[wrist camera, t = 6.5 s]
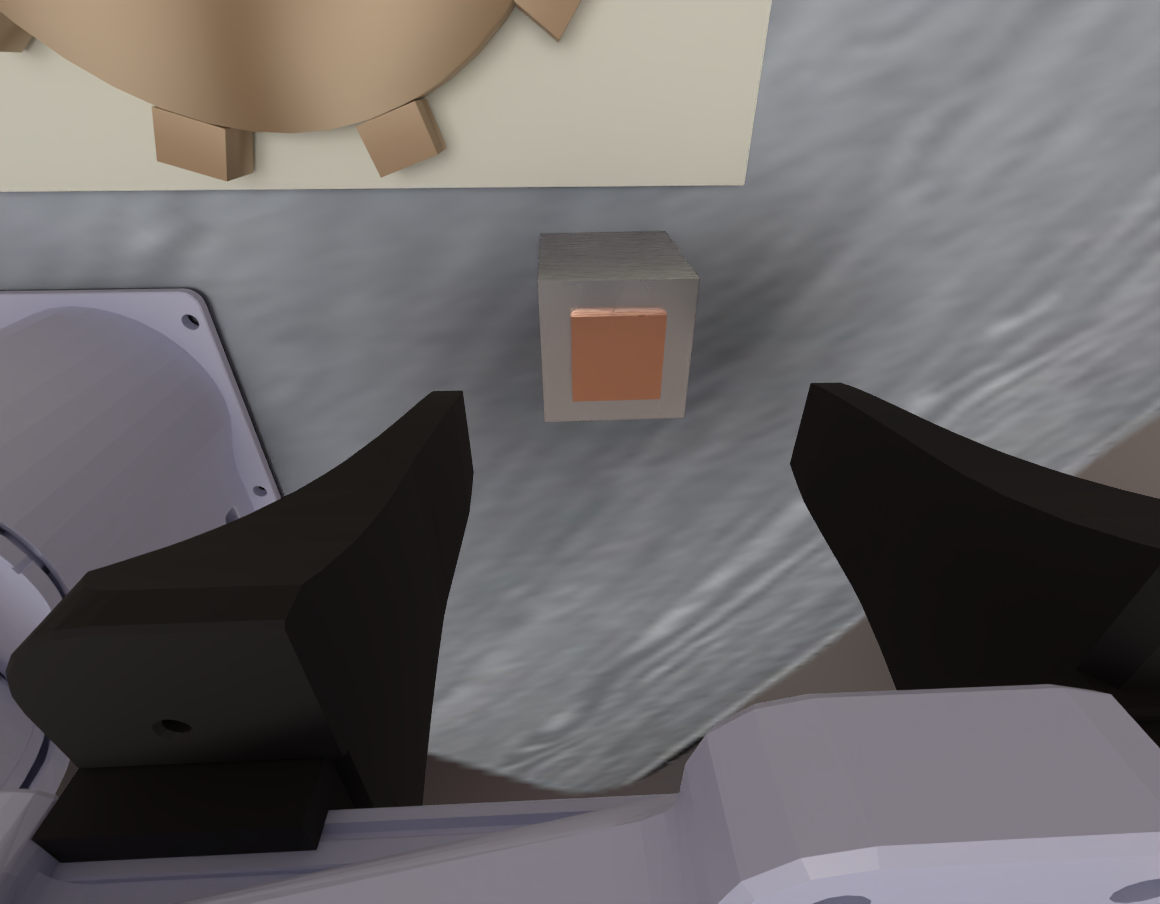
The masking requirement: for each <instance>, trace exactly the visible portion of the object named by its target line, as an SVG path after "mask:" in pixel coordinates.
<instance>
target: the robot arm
mask: <svg viewBox="0 0 1160 904" xmlns="http://www.w3.org/2000/svg"><path fill="white" fill-rule="evenodd" d="M188 315H192V316H194V317H195V318H196V319H197V320H198V322H199V325H195V324H194V323H192V322H191V321H190V320H189V318H188ZM790 465H791V468H792V471H793V474H794V477H795V480H796V483H797V485H798V488H799V490H800V493H801V495H802V498H803V500H804V503H805V504H806V506H807V508H808V510H809V512H810V514H811V515H812V517H813V519H814V521H815V523H816V524H817V526H818V528H819V530H820V531H821V533H822V535H823V537H824V538H825V540H826V542H827V544H828V545H829V547H830V549H831V550H832V552H833V554H834V556H835V557H836V559H837V561H838V563H839V564H840V566H841V568H842V569H843V571H844V573H845V575H846V576H847V578H848V580H849V582H850V583H851V585H852V587H853V589H854V591H855V593H856V595H857V597H858V599H859V601H860V602H861V604H862V607H863V609H864V611H865V614H866V616H867V618H868V621H869V623H870V625H871V628H872V630H873V632H874V634H875V637H876V639H877V641H878V644H879V646H880V649H881V651H882V654H883V656H884V659H885V661H886V664H887V666H888V669H889V672H890V674H891V676H892V679H893V682H894V684H895V687H896V689H897V690H896V691H872V692H848V693H824V694H806V695H801V696H795V697H790V698H785V699H779V700H775V701H768V702H763V703H758V704H754V705H752V706H750V707H748V708H746V709H744V710H742V711H740V712H738V713H737V714H735V715H733V716H731V717H729V718H727V719H725V720H723V721H721V722H720V723H718V724H716V725H714V726H712V727H711V729H710V730H709V731H708V733H707V734H706V735H705V737H704V738H703V740H702V741H701V742H700V744H699V745H698V747H697V748H696V750H695V751H694V752H693V754H692V755H691V757H690V758H689V759H688V761H687V762H686V764H685V768H684V773H683V778H682V783H681V788H680V793H677V794H661V795H639V796H618V797H597V798H577V799H555V800H534V801H514V802H513V801H512V802H491V803H472V804H471V803H470V804H449V805H428V806H422V804H423V792H424V782H425V770H426V760H427V751H428V742H429V732H430V723H431V713H432V705H433V696H434V688H435V680H436V672H437V663H438V656H439V649H440V641H441V634H442V627H443V620H444V614H445V610H446V605H447V600H448V596H449V592H450V588H451V584H452V580H453V576H454V572H455V568H456V564H457V560H458V556H459V552H460V548H461V544H462V540H463V536H464V532H465V528H466V524H467V520H468V516H469V511H470V503H471V494H472V483H473V473H474V472H473V464H472V457H471V449H470V442H469V434H468V427H467V420H466V412H465V405H464V397H463V391H433V392H431V393H430V394H428V395H427V396H426V397H425V398H423V399H422V400H421V401H420V402H419V403H417V404H416V405H415V406H414V407H413V408H412V409H410V410H409V411H408V412H407V413H406V414H405V415H404V416H402V417H401V418H400V419H399V420H398V421H396V422H395V423H394V424H393V425H392V426H390V427H389V428H388V429H387V430H386V431H384V432H383V433H382V434H381V435H379V436H378V437H377V438H375V439H374V440H373V441H371V442H370V443H369V444H367V445H366V446H365V447H363V448H362V449H361V450H359V451H358V452H357V453H355V454H354V455H353V456H351V457H350V458H349V459H347V460H346V461H344V462H343V463H341V464H340V465H338V466H337V467H335V468H334V469H332V470H331V471H329V472H327V473H326V474H324V475H322V476H321V477H319V478H317V479H316V480H314V481H312V482H311V483H309V484H307V485H306V486H304V487H302V488H300V489H298V490H297V491H295V492H293V493H291V494H289V495H287V496H285V497H283V498H281V497H280V494H279V492H278V489H277V486H276V484H275V481H274V479H273V476H272V473H271V471H270V468H269V466H268V463H267V461H266V458H265V455H264V453H263V450H262V448H261V445H260V442H259V440H258V437H257V435H256V432H255V430H254V427H253V424H252V422H251V419H250V417H249V414H248V411H247V409H246V406H245V404H244V401H243V399H242V396H241V393H240V391H239V388H238V386H237V383H236V380H235V378H234V375H233V373H232V370H231V367H230V365H229V362H228V360H227V357H226V355H225V352H224V349H223V347H222V344H221V342H220V339H219V336H218V334H217V331H216V329H215V326H214V324H213V321H212V318H211V316H210V313H209V311H208V308H207V305H206V303H205V301H204V300H203V298H202V297H201V296H200V295H199V294H198V293H196V292H194V291H192V290H190V289H184V288H179V289H114V290H48V291H0V904H1160V499H1157V498H1153V497H1149V496H1145V495H1141V494H1137V493H1133V492H1129V491H1124V490H1121V489H1117V488H1114V487H1110V486H1107V485H1103V484H1099V483H1095V482H1092V481H1088V480H1085V479H1081V478H1078V477H1074V476H1071V475H1068V474H1064V473H1061V472H1058V471H1055V470H1052V469H1048V468H1046V467H1043V466H1040V465H1037V464H1034V463H1031V462H1028V461H1025V460H1022V459H1019V458H1017V457H1014V456H1011V455H1008V454H1005V453H1003V452H1000V451H997V450H995V449H992V448H990V447H987V446H985V445H982V444H980V443H978V442H975V441H973V440H970V439H968V438H966V437H963V436H961V435H958V434H956V433H954V432H951V431H949V430H947V429H945V428H942V427H940V426H938V425H936V424H933V423H931V422H929V421H927V420H925V419H923V418H920V417H918V416H916V415H914V414H912V413H910V412H908V411H906V410H903V409H901V408H899V407H897V406H895V405H893V404H891V403H888V402H886V401H884V400H882V399H880V398H878V397H876V396H873V395H871V394H869V393H866V392H864V391H862V390H859V389H857V388H854V387H852V386H849V385H846V384H842V383H811V384H810V388H809V392H808V396H807V400H806V404H805V408H804V411H803V415H802V419H801V423H800V427H799V431H798V435H797V439H796V442H795V446H794V450H793V454H792V458H791V462H790ZM258 486H261V487H263V488H265V490H262V489H260V488H259V487H258ZM69 760H71V761H72V762H73V763H74V764H75V765H76V766H77V767H78V768H79V769H78V771H77V772H76V774H75V775H74V777H73V778H72V780H71V781H70V783H69V784H68V786H67V787H66V789H65V790H64V792H63V793H62V795H61V796H60V797H58V796H56V795H55V792H56V791H57V789H58V787H59V785H60V782H61V780H62V778H63V776H64V774H65V772H66V769H67V766H68V763H69Z"/></svg>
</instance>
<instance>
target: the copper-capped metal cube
mask: <svg viewBox="0 0 1160 904" xmlns="http://www.w3.org/2000/svg"><path fill="white" fill-rule="evenodd" d="M699 280H700V278H699V277H698V275H697V274H696V273H695V271H694V270H693V269H692V267H691V266H690V265H689V263H688V262H687V260H686V259H685V258H684V256H683V255H682V254H681V252H680V251H679V249H678V248H677V247H676V245H675V244H674V243H673V241H672V240H671V238H670V237H669V236H668V234H667V233H666V232H665V231H642V232H590V233H540V247H539V266H538V298H539V318H540V338H541V357H542V377H543V397H544V417H545V422H560V421H593V420H625V419H658V418H684V413H685V404H686V395H687V386H688V377H689V369H690V360H691V351H692V342H693V333H694V324H695V316H696V307H697V298H698V289H699Z"/></svg>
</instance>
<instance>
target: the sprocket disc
mask: <svg viewBox="0 0 1160 904" xmlns="http://www.w3.org/2000/svg"><path fill="white" fill-rule="evenodd" d="M580 2H581V0H0V52H20V53H22V51H23V50H24V48H25V47H26V45H27V44H28V42H29V41H30V39H31V38H32V36H34V37H35V38H36V39H38V40H39V41H41V42H42V43H43V44H45V45H46V46H48V47H49V48H51V49H52V50H53V51H55V52H56V53H58V54H59V55H60V56H62V57H63V58H65V59H66V60H68V61H70V62H71V63H73V64H75V65H77V66H78V67H80V68H82V69H84V70H85V71H87V72H89V73H90V74H92V75H94V76H96V77H97V78H99V79H101V80H103V81H104V82H106V83H108V84H110V85H111V86H113V87H115V88H117V89H119V90H122V91H124V92H126V93H128V94H130V95H133V96H135V97H137V98H139V99H141V100H144V101H146V102H148V103H150V104H153V105H155V106H152V116H153V126H154V136H155V147H156V157H157V161H158V162H162V163H165V164H168V165H172V166H175V167H179V168H182V169H186V170H189V171H192V172H196V173H199V174H203V175H206V176H210V177H213V178H216V179H220V180H223V181H230V180H233V179H236V178H239V177H242V176H245V175H248V174H251V173H253V132H252V131H254V132H274V133H301V132H311V131H322V130H332V129H336V128H340V127H343V126H347V125H351V124H355V123H359V122H363V121H366V120H369V121H367V122H364V123H362V124H360V125H357V126H355V127H356V129H357V131H358V133H359V135H360V137H361V139H362V141H363V143H364V145H365V147H366V149H367V151H368V153H369V155H370V157H371V159H372V161H373V163H374V165H375V167H376V169H377V171H378V173H379V175H380V177H381V178H382V177H384V176H386V175H389V174H391V173H394V172H396V171H399V170H401V169H404V168H406V167H408V166H411V165H413V164H416V163H418V162H421V161H423V160H426V159H428V158H430V157H433V156H435V155H438V154H439V153H441V152H442V151H443V150H445V149H446V148H447V147H446V144H445V142H444V139H443V137H442V135H441V132H440V130H439V128H438V125H437V123H436V121H435V118H434V116H433V114H432V111H431V109H430V106H429V104H428V102H427V99H422V98H423V97H425V96H426V95H428V94H429V93H431V92H432V91H434V90H436V89H437V88H439V87H440V86H442V85H443V84H445V83H446V82H448V81H449V80H451V79H452V78H453V77H454V76H455V75H456V74H457V73H458V72H459V71H460V70H462V69H463V68H464V67H465V66H466V65H467V64H468V63H469V62H470V61H471V60H473V59H474V58H475V57H476V56H477V55H478V54H479V53H480V52H481V51H482V49H483V48H484V47H485V46H486V45H487V43H488V42H489V41H490V40H491V38H492V37H493V36H494V35H495V34H496V32H497V31H498V30H499V29H500V28H501V26H502V25H503V24H504V23H505V21H506V20H507V18H508V17H509V15H510V14H511V12H512V10H513V9H514V7H515V6H517V8H518V9H519V10H521V11H522V12H523V13H524V14H525V15H526V16H528V17H529V18H530V19H531V20H532V21H533V22H535V23H536V24H537V25H538V26H539V27H540V28H542V29H543V30H544V31H545V32H546V33H547V34H549V35H550V36H551V37H552V38H553V39H554V40H556V41H557V42H559V40H560V39H561V37H562V35H563V33H564V31H565V30H566V28H567V26H568V24H569V22H570V20H571V19H572V17H573V15H574V13H575V11H576V9H577V8H578V6H579V4H580ZM420 99H422V100H420ZM370 119H371V120H370Z"/></svg>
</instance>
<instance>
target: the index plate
mask: <svg viewBox="0 0 1160 904" xmlns="http://www.w3.org/2000/svg"><path fill="white" fill-rule="evenodd" d="M771 2H772V0H581V2H580V4H579V6H578V8H577V9H576V11H575V13H574V15H573V17H572V19H571V20H570V22H569V24H568V26H567V28H566V30H565V31H564V33H563V35H562V37H561V39H560V40H559V42H557V41H556V40H554V39H553V38H552V37H551V36H550V35H549V34H547V33H546V32H545V31H544V30H543V29H542V28H540V27H539V26H538V25H537V24H536V23H535V22H533V21H532V20H531V19H530V18H529V17H528V16H526V15H525V14H524V13H523V12H522V11H521V10H519V9H518V8H517V6H515V7H514V9H513V10H512V12H511V14H510V15H509V17H508V18H507V20H506V21H505V23H504V24H503V25H502V26H501V28H500V29H499V30H498V31H497V32H496V34H495V35H494V36H493V37H492V38H491V40H490V41H489V42H488V43H487V45H486V46H485V47H484V48H483V49H482V51H481V52H480V53H479V54H478V55H477V56H476V57H475V58H474V59H473V60H471V61H470V62H469V63H468V64H467V65H466V66H465V67H464V68H463V69H462V70H460V71H459V72H458V73H457V74H456V75H455V76H454V77H453V78H452V79H451V80H449V81H448V82H446V83H445V84H443V85H442V86H440V87H439V88H437V89H436V90H434V91H432V92H431V93H429V94H428V95H426V96H425V97H423V98H422V99H427V102H428V104H429V106H430V109H431V111H432V114H433V116H434V118H435V121H436V123H437V125H438V128H439V130H440V132H441V135H442V137H443V139H444V142H445V144H446V147H447V148H446V149H445V150H443V151H442V152H441V153H439V154H438V155H435V156H433V157H430V158H428V159H426V160H423V161H421V162H418V163H416V164H413V165H411V166H408V167H406V168H404V169H401V170H399V171H396V172H394V173H391V174H389V175H386V176H384V177H382V178H381V177H380V175H379V173H378V171H377V169H376V167H375V165H374V163H373V161H372V159H371V157H370V155H369V153H368V151H367V149H366V147H365V145H364V143H363V141H362V139H361V137H360V135H359V133H358V131H357V129H356V127H355V126H357V125H360V124H362V123H364V122H367V121H369V120H366V121H363V122H359V123H355V124H351V125H347V126H343V127H340V128H336V129H332V130H322V131H311V132H301V133H274V132H254V131H252V132H253V173H251V174H248V175H245V176H242V177H239V178H236V179H233V180H230V181H223V180H220V179H216V178H213V177H210V176H206V175H203V174H199V173H196V172H192V171H189V170H186V169H182V168H179V167H175V166H172V165H168V164H165V163H162V162H158V161H157V157H156V147H155V136H154V126H153V116H152V106H155V105H153V104H150V103H148V102H146V101H144V100H141V99H139V98H137V97H135V96H133V95H130V94H128V93H126V92H124V91H122V90H119V89H117V88H115V87H113V86H111V85H110V84H108V83H106V82H104V81H103V80H101V79H99V78H97V77H96V76H94V75H92V74H90V73H89V72H87V71H85V70H84V69H82V68H80V67H78V66H77V65H75V64H73V63H71V62H70V61H68V60H66V59H65V58H63V57H62V56H60V55H59V54H58V53H56V52H55V51H53V50H52V49H51V48H49V47H48V46H46V45H45V44H43V43H42V42H41V41H39V40H38V39H36V38H35V37H34V36H32V38H31V39H30V41H29V42H28V44H27V45H26V47H25V48H24V50H23V51H22V53H20V52H0V192H32V191H144V190H256V189H367V188H479V187H591V186H703V185H744V183H745V176H746V169H747V163H748V156H749V149H750V143H751V136H752V129H753V123H754V116H755V109H756V103H757V96H758V89H759V83H760V76H761V69H762V63H763V56H764V49H765V42H766V36H767V29H768V22H769V16H770V9H771ZM422 99H420V100H422ZM370 120H371V119H370Z"/></svg>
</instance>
